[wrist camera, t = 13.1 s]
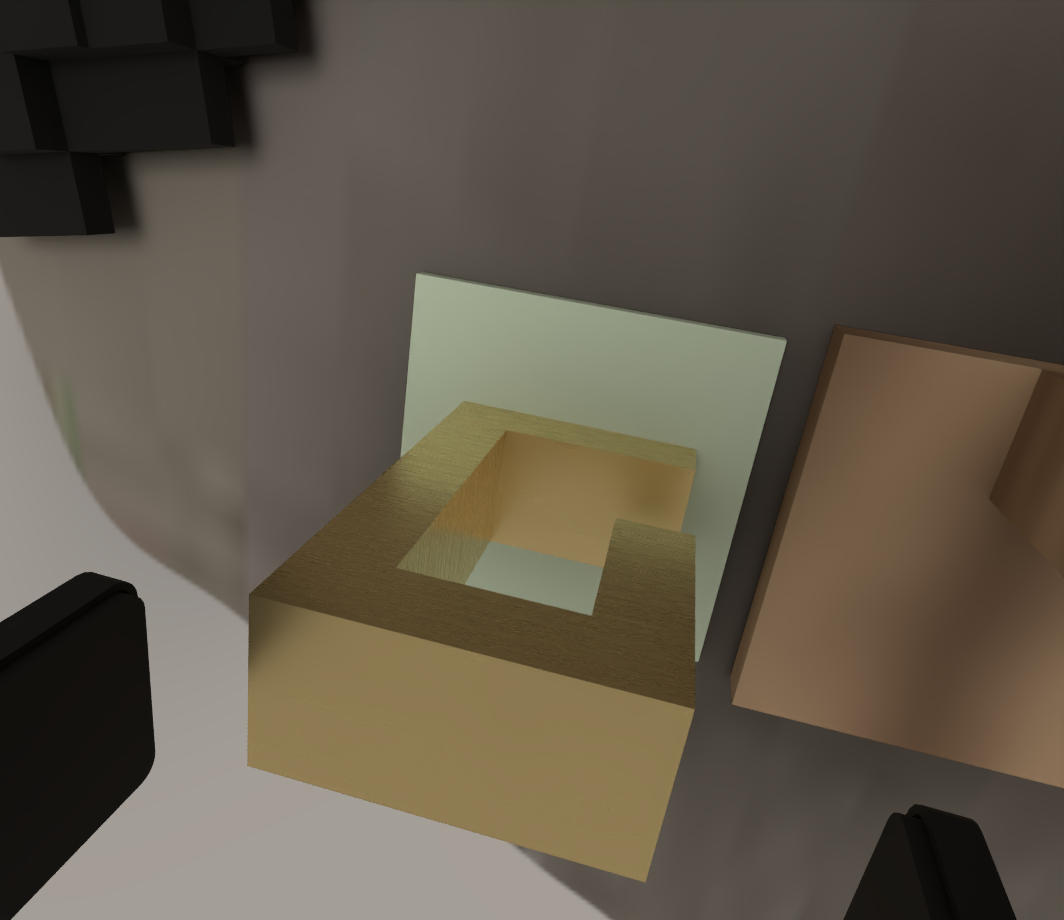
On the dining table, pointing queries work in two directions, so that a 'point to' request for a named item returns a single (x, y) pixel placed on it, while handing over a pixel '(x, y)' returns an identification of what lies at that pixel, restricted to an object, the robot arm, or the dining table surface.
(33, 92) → the toy sword
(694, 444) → the pad
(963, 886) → the robot arm
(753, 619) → the stand
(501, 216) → the dining table surface
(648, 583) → the c link
